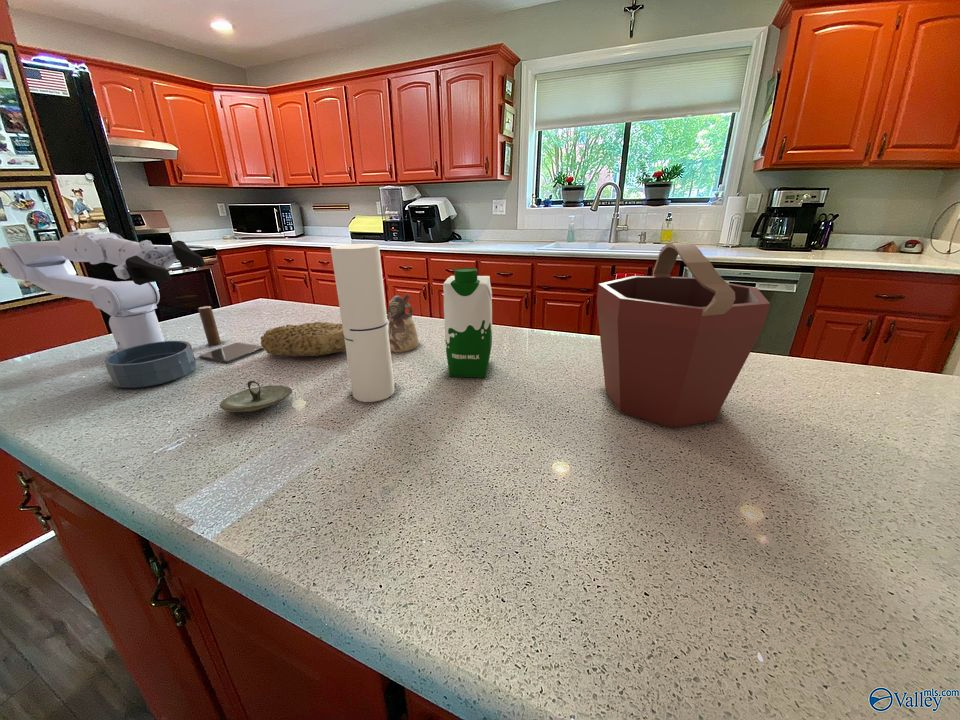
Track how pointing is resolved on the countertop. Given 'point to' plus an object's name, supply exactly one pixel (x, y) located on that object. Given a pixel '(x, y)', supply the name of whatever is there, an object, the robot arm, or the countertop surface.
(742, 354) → the bucket
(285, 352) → the sponge
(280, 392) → the lid
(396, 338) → the figurine
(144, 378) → the bowl
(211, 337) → the brown wooden peg
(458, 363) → the milk carton
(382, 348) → the cylindrical container
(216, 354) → the square mirror plate
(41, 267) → the robot arm
